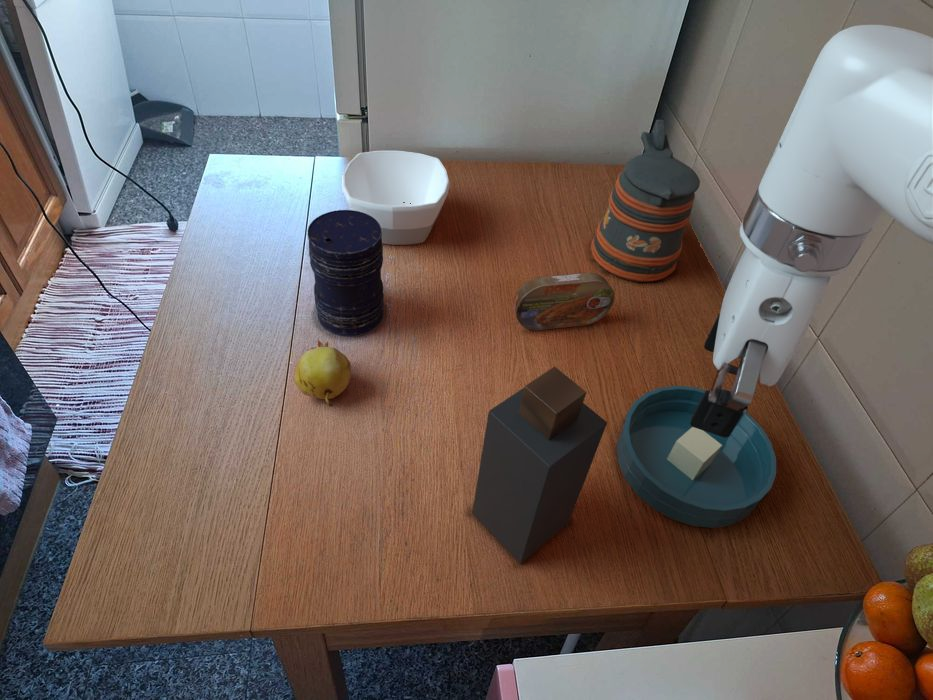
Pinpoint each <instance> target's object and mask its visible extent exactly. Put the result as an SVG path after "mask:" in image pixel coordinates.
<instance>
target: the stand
mask: <svg viewBox="0 0 933 700" xmlns="http://www.w3.org/2000/svg"><path fill="white" fill-rule="evenodd" d="M523 391H524V387H522V388H521V389H519V390H518V391H516V392H514V393H513V394H512V395H510V396H509V397H507V398H506V399H505V400H503V401H501V402H500V403H499V404H497V405H495V406H494V407H493V408H491V409H490V410H488V413H487V420H486V424H485V425H486V426H485V432H484V438H483V444H482V449H481V456H480V462H479V469H478V474H477V480H476V487H475V494H474V500H473V506H472V511H471V514H472V515H473V517H475V519H476V520H478V522H480V523H481V525H482V526H483V527H484V528H485V529H486V530H487V531H488V532H489V533H490V534H491V535H492V536H493V538H494V539H496V540H497V541H498V542H499V544H500V545H501V546H502V547H503V548H504V549H505V550H506V551H507V552H508V553H509V554H510V555H511V556H512V557H513V558H514V559H515V561H517V563H518V564H520V565H522V563H524V562H525V561H526V560H527V559H529V558H530V557H531V556H532V555H534V553H535V552H537V551H538V550H539V549H540V548H541V547H543V546H544V545H545V544H546V543H548V542H549V541H550V540H551V539H553V537H554V536H555V535H557V534H558V533H559V532H560V531H561V530H562V529H564V528H565V527H566V526H567V525H568V524H569V523H570V522H571V518H572V516H573V513H574V511H575V508H576V506H577V504H578V500H579V498H580V495H581V492H582V490H583V487H584V485H585V482H586V480H587V477H588V474H589V471H590V470H591V466H592V463H593V461H594V458H595V456H596V453H597V450H598V448H599V446H600V443H601V440H602V438H603V436H604V433H605V430H606V427H607V425H608V421H606V420H605V419H604V418H603V417H601V416H600V414H598V413H597V412H595V411H594V410H593V409H592V408H591V407H589V406H588V405H587V404H586V403H584V402H583V405H582V408H581V411H580V414H579V417H578V419H577V420H576V421H575V422H573V423H572V424H571V425H569V426H568V427H567V428H565V429H564V430H563V431H561V432H560V433H559V434H557V435H556V436H555V437H553V438H552V439H550V440H548V439H547V438H546V437H544V436H543V435H542V434H541V433H540V432H539V431H538V430H537V429H535V428H534V427H533V426H532V425H531V424H530V423H529V422H528V421H526V420H525V419H524V418H523V417H522V416H521V415H520V414H519V410H520V405H521V401H522V396H523Z"/></svg>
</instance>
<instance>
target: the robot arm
mask: <svg viewBox="0 0 933 700" xmlns="http://www.w3.org/2000/svg"><path fill="white" fill-rule="evenodd" d="M792 110H793V111H792V112H791V114H790V117H789V118H788V121H787V123H786V125H785V127H784V129H783V131H782V134H781V136H780V139H779V140H778V143H777V145H776V146H775V149H774V151H773V154H772V156H771V158H770V160H769V163H768V165H767V167H766V169H765V171H764V174H763V175H762V178H761V180H760V183H759V184H758V186H757V188H756V191H755V193H754V195H753V197H752V199H751V202H750V203H749V206H748V208H747V210H746V212H745V215H744V217H743V219H742V221H741V224H740V226H739V231H738V232H739V236H740V240H742V243H743V244H744V246H745V249H744V251H743V253H742V255H741V256H740V258H739V260H738V263H737V264H736V267H735V269H734V271H733V273H732V276H731V279H730V280H729V283H728V284H727V288H726V290H725V293H724V296H723V299H722V303H721V307H720V313H718V315H717V317H716V319H715V321H714V322H713V325H712V326H711V329H710V331H709V333H708V336H707V337H706V340H705V341H704V346H703V347H704V349H705V350H706V351H708V352H711V353H713V355H712V363H713V365H714V367H715V368H716V370H717V371H716V374H715V376H714V379H713V382H712V384H711V388H710V390H707V389H705V390H706V391H705V393H704V395H703V397H702V399H701V400H700V402H699V404H698V406H697V408H696V410H695V412H694V414H693V416H692V418H691V421H690V425H691V426H692V427H694V428H697V429H700V430H703V431H706V432H709V433H712V434H715V435H718V436H721V437H729V436H730V434H731V433H732V431H733V430H734V428H735V426H736V425H737V423H738V421H739V420H740V418H741V417H742V415H743V413H745V411H746V412H747V410H748V408H749V405H750V404H751V403H752V401H753V398H754V395H755V392H756V387H757V384H758V380H759V383H760V385H763V386H764V385H765V386H767V387H772V386H775V385H776V384H777V383H778V382H779V380H780V379H781V377H782V375H783V374H784V373H785V370H786V368H787V367H788V365H789V363H790V361H791V359H792V357H793V356H794V354H795V352H796V351H797V349H798V347H799V346H800V343H801V341H802V340H803V338H804V336H805V334H806V332H807V330H808V329H809V327H810V325H811V323H812V322H813V319H814V317H815V315H816V313H817V311H818V309H819V307H820V305H821V302H822V300H823V298H824V295H825V293H826V290H827V288H828V286H829V282H830V280H831V277H835V276H838V275H841V274H842V273H844V272H845V271H846V270H847V269H848V268H849V266H850V264H851V263H852V261H853V259H854V258H855V257H856V255H857V253H859V250H860V248H861V247H862V245H863V244H864V242H865V241H866V239H867V238H868V236H869V234H870V233H871V232H872V230H873V228H874V227H875V225H876V224H877V222H878V220H879V219H880V217H881V216H882V214H883V213H884V211H885V212H886V213H888V215H890V217H892V218H893V219H894V220H895V221H897V223H898V224H900V225H901V226H902V227H904V228H905V229H906V230H907V231H909V232H910V233H912V234H913V235H915V237H918V238H919V239H922V241H925V242H926V243H929V244H931V245H933V37H932V36H929V35H927V34H925V33H922V32H918V31H914V30H911V29H909V28H903V27H898V26H893V25H885V24H859V25H853V26H850V27H847V28H845V29H842V30H840V31H838V32H837V33H836V34H834V35H832V37H831V38H830V39H829V40H828V41H827V42H826V43H825V44H824V46H823V47H822V49H821V51H820V53H819V54H818V56H817V59H816V60H815V62H814V64H813V66H812V69H811V71H810V72H809V75H808V77H807V79H806V82H805V84H804V86H803V88H802V89H801V92H800V95H799V96H798V99H797V101H796V103H795V106H794V107H793V109H792ZM737 359H740V361H739V365H738V366H736V365H733V364H731V362H733V361H734V360H737ZM727 374H731V375H734V376H735V379H734V383H733V384H732V386H731V388H730V389H729V390H726V389H723V385H724V383H725V380H726V376H727Z"/></svg>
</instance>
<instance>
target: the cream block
mask: <svg viewBox="0 0 933 700" xmlns="http://www.w3.org/2000/svg"><path fill="white" fill-rule="evenodd" d="M721 447H722V444H720V443H719V442H718V441H716V440H715V439H714V438H712V437H711V436H710V435H708V434H707V433H706V432H704V431H703V430H700V429H697V428H694V427H692V428H691V429H689V430H688V431H687V432H686V433H685V434H684V435H683V436H681V437H680V438H679V439H678V440H677V441H676V443H675V445H674V447H673V448H672V450H671V452H670V454H669V456H668V458H667V460H668V461H669V462H671V463H672V464H673V465H674V466H676V467H677V468H678V469H679V470H681V471H682V472H683V473H684V474H686V475H687V476H688V477H689V478H690V479H692V480H694V479H695V478H696V477H697V476H699V475H700V474H701V473H702V472H703V471H704V470H705V469H706V468H707V467H708V466H709V465H710V464H711V463H712V461H713V460H714V458H715V456H716V455H717V453H718V452H719V450H720V448H721Z"/></svg>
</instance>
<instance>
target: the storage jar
mask: <svg viewBox="0 0 933 700" xmlns="http://www.w3.org/2000/svg"><path fill="white" fill-rule="evenodd" d="M307 239H308V255H309V264H310V267H311V271H312V272H313V275H314V285H313V297H314V305H315V308H316V311H317V320H318V323H319V325H320V326H321V327H322V328H323V329H324V330H325V331H327V332H329V333H331V334H333V335H335V336H339V337H345V338H346V337H347V338H351V337H353V338H354V337H359V336H363V335H366V334H369V333H370V332H372V331H374V330H375V329H377V328H378V326H380V324H381V323H382V321H383V319H384V304H385V293H384V283H383V280H382V268H383V263H384V254H383V253H384V245H383V243H382V230H381V226H380V224H379V223H378V221H377V220H376V219H375V218H373V217H372V216H370V215H368V214H366V213H363V212H359V211H354V210H351V209H337V210H332V211H328V212H325V213H323V214H321V215H319V216H317V217H315V218H314V219H313V220H312V221H311V222H310V223H309V225H308V227H307Z"/></svg>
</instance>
